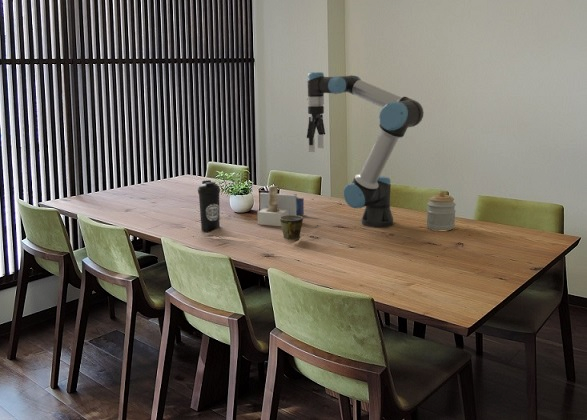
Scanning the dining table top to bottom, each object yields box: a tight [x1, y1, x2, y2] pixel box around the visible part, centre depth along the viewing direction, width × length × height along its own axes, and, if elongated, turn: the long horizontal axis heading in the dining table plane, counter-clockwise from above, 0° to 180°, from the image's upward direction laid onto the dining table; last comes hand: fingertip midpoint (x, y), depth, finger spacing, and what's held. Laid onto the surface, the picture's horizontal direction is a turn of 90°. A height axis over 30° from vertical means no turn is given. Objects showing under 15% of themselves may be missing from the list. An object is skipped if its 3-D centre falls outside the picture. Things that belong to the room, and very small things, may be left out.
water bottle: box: [197, 179, 221, 233], centre depth 327 cm, size 10×10×23 cm
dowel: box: [268, 185, 278, 212], centre depth 334 cm, size 4×4×16 cm
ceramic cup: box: [280, 215, 304, 242], centre depth 308 cm, size 13×10×10 cm
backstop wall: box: [259, 192, 297, 215], centre depth 331 cm, size 18×23×14 cm
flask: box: [292, 193, 305, 217], centre depth 356 cm, size 9×3×11 cm, turn 61°
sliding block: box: [257, 208, 289, 227], centre depth 335 cm, size 12×10×6 cm
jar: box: [425, 190, 457, 231], centre depth 325 cm, size 13×13×18 cm
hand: (316, 150), depth 338 cm, fingers open, 13 cm apart
